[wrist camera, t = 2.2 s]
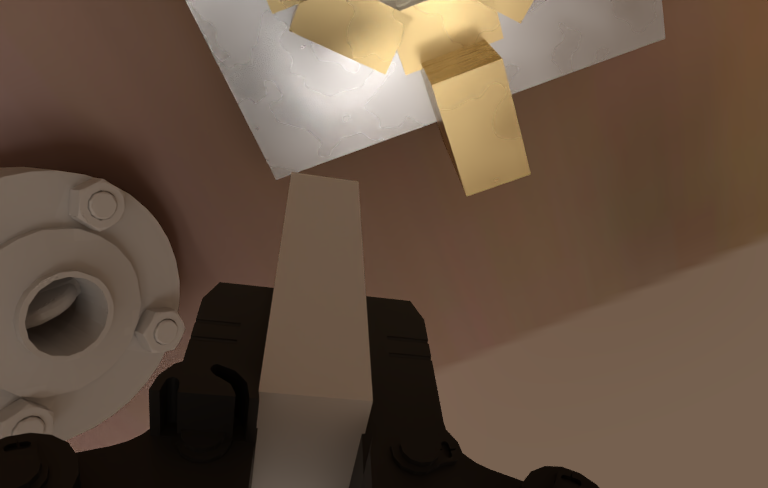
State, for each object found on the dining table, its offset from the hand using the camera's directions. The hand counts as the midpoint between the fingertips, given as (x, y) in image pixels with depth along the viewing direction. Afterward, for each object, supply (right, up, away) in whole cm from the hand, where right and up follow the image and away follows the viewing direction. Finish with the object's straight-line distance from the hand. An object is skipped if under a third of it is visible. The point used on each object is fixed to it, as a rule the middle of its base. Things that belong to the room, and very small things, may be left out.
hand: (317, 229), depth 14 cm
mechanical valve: (-18, -2, +14) cm, 23 cm away
